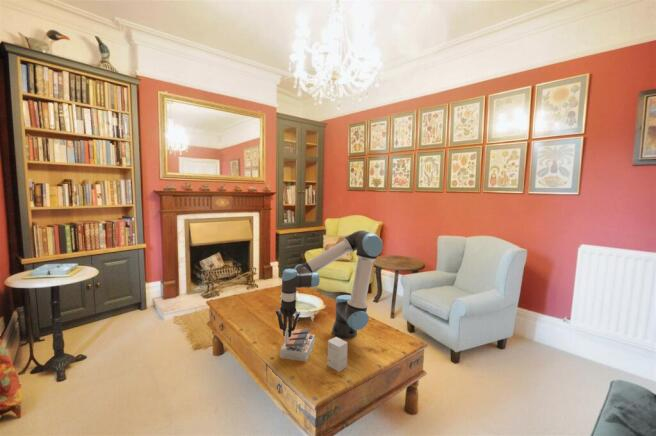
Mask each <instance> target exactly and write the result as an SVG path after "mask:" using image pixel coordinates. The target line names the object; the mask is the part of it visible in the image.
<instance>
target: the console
mask: <svg viewBox="0 0 656 436" xmlns="http://www.w3.org/2000/svg"><path fill="white" fill-rule="evenodd" d="M293 332H294V331H292V333H293ZM292 333H291V335H293V334H292ZM315 341H316V335H315V334H312V333H311V334H310V333H308V334H307V337H306V338H305V339H304V343H303V345H302V346H296V347H295V348H293V346H289V347H286V346H285V344H286V343H285V342H284V343H283V345H282V346H281V347H280V350H279V351H280V353H279V354H280V359H285V360H292V361H300V362H307V361H308V359H309V357H310V354H311V352H312V350H313V348H314V346H315V343H316V342H315Z"/></svg>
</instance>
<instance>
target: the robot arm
mask: <svg viewBox="0 0 656 436" xmlns="http://www.w3.org/2000/svg"><path fill="white" fill-rule="evenodd" d="M383 244H384V243H383V241H382V239H381V238H380V236H378V235H377V234H376V233H373V232H370V231H367V230H357V231H354V232H353V233H351V234H349V235H347V236H345V237H343V238H342V241H340V242H339V243H337V244H335V245H333V246H332V247H330V248H328V249H327V250H325V251H323V252H321V253H320V254H318V255H316V256H315V257H313V258H311V259H310V260H308V261H306V262H305V263H299V264H297V265H295V267H294V268H285V269H284V270H283V271H282V275H281V300H280V309H277V310H276V311H275V313H276V315H277V321H278V326H279V327H278V328H279V329H280V330H282V336H283V337H284V343H287V344H288V342H289V339H290V337H291V333H292V332H294V330H296V328H297V327H296V326H297V323H298V319H299V317H300V315H301V312H298V311H297V308H296V307H297V289H298V288H299V289H301V288H314V287H318V286H319V285H320V281H321V277H320V273H318V271H320V270H321V269H324V268H325V267H327V266H328V265H330V264H331V263H333V262H335V261H336V260H338V259H340V258H341V257H343V256H345V255H347V254H348V253H351V254H352V253H353V252H355V251H356V253H355V255H356V257H357V258H358V259H357V263H356V267H355V273H354V278H353V279H354V280H353V284H352V289H351V295H350V294H342V295H337V296H336V298H335V320H334V323H333V324H332V329H331V331H332V334H333V336H335V337H338V338H340V339H343V340H344V339H345V340H346V339H347V340H348V339H352V338H354V337H356V335H357V333H358V331H359V330H360V331H361V330H362V329H364V328H366V326H367V325H368V324H369V321H370V320H369V319H370V318H369V315H368V314H369V313H368V312H367V309H368V304H367V303H366V300H367V297H368V296H367V295H368V291H369V285H370V281H371V276H372V269H373V264H374V262H375V261H376V260H377V258H378V256H379V255H380V254H381V253H382V251H383V248H384V245H383ZM282 315H283V316H282ZM293 316H295V317H294V320H293Z"/></svg>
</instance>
